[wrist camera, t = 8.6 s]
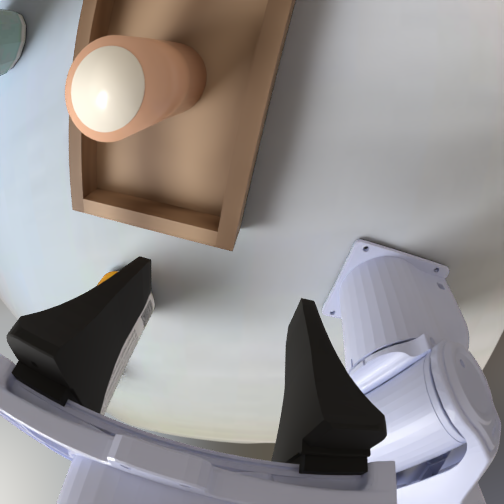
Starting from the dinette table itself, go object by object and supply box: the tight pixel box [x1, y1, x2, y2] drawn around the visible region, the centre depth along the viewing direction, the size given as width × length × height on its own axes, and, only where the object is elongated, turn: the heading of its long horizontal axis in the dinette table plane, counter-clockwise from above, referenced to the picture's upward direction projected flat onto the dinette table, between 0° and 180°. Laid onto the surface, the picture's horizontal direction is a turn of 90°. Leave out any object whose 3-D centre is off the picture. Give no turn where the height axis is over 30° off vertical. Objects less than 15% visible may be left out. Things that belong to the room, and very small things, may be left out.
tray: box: [69, 0, 296, 251], centre depth 16 cm, size 13×20×3 cm, turn 168°
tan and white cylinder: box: [65, 35, 207, 142], centre depth 13 cm, size 5×5×7 cm
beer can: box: [97, 271, 155, 415], centre depth 22 cm, size 6×6×15 cm
